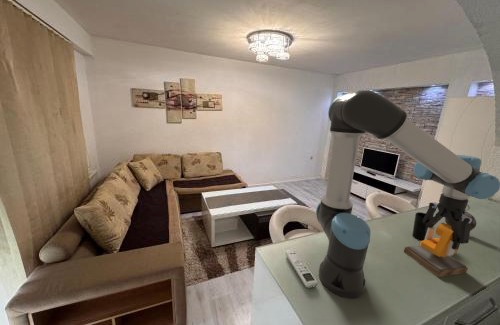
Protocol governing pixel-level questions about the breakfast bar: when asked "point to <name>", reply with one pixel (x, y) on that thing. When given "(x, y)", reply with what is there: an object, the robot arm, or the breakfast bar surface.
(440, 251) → the bracket
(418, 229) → the cup
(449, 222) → the alarm clock
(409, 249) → the plinth
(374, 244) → the breakfast bar surface
